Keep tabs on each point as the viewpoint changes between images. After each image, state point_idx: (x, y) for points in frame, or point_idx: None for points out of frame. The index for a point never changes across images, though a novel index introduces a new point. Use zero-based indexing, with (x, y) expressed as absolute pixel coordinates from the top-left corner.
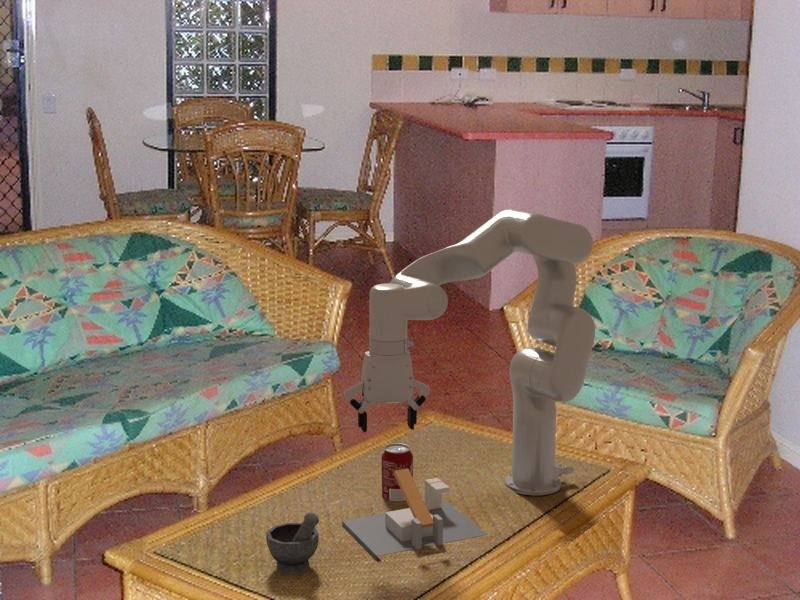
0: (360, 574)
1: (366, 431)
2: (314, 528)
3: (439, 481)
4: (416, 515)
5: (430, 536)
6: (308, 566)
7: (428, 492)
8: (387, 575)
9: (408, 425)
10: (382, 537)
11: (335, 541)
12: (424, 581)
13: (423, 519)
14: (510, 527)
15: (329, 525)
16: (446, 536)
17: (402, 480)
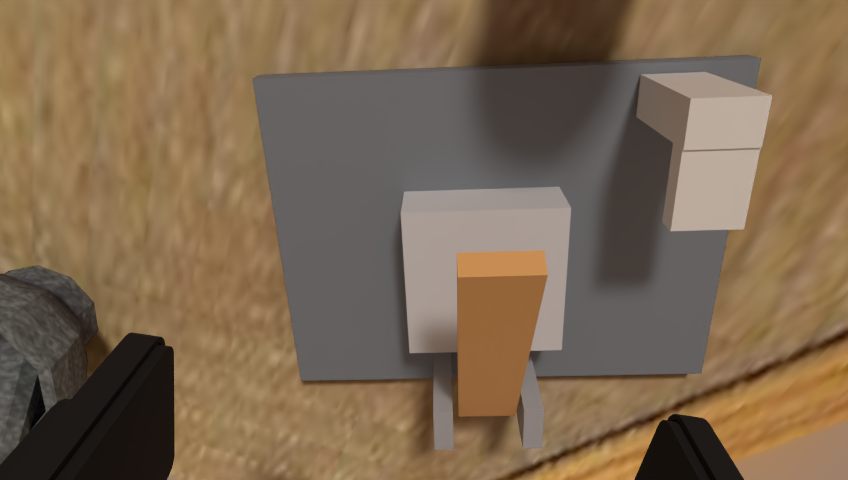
0: (239, 413)
1: (169, 463)
2: (47, 377)
3: (746, 148)
4: (461, 400)
5: None
6: (91, 336)
7: (664, 131)
8: (310, 441)
9: (648, 466)
10: (361, 273)
11: (208, 192)
12: None
13: (481, 408)
14: (828, 309)
15: (211, 43)
16: (568, 342)
17: (475, 315)
